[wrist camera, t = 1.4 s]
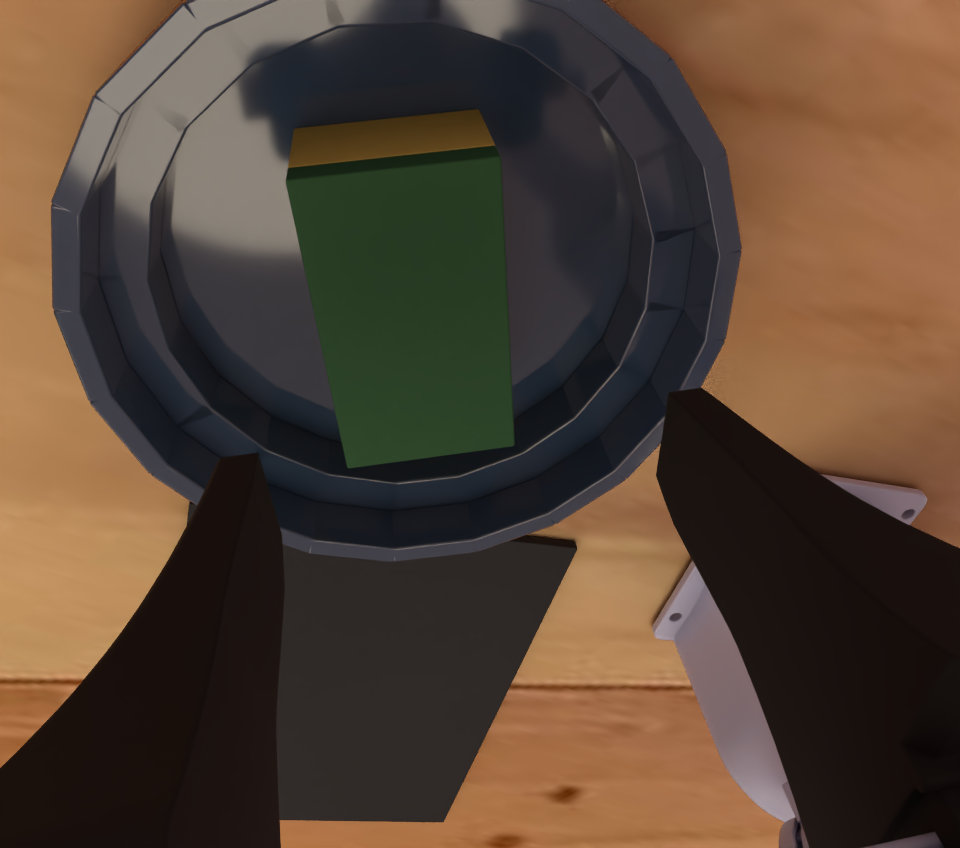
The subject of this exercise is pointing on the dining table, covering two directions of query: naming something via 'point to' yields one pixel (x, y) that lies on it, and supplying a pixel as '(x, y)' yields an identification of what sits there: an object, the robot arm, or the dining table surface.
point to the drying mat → (400, 673)
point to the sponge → (407, 282)
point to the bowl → (282, 280)
